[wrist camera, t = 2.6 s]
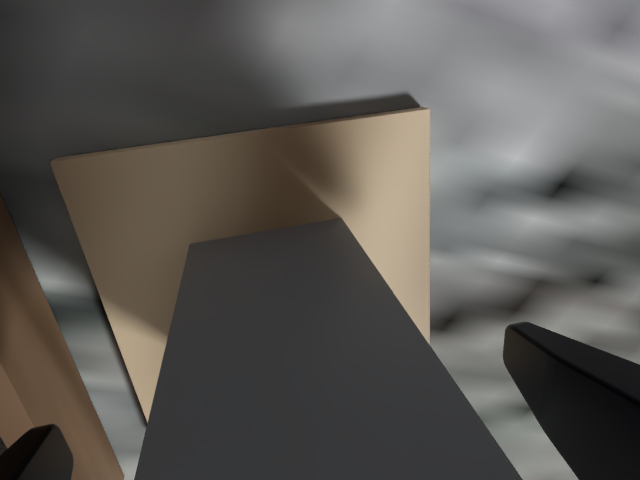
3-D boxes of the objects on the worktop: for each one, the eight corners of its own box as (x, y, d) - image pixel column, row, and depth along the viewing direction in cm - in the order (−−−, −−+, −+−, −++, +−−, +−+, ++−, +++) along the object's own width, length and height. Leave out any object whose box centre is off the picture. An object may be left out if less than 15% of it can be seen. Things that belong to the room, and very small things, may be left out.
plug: (341, 217, 11) (585, 572, 3) (352, 338, 13) (535, 763, 5) (189, 243, 11) (76, 728, 3) (221, 366, 12) (201, 885, 5)
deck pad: (421, 106, 11) (430, 108, 11) (423, 374, 15) (429, 383, 14) (58, 157, 10) (49, 161, 9) (159, 433, 14) (156, 446, 13)
